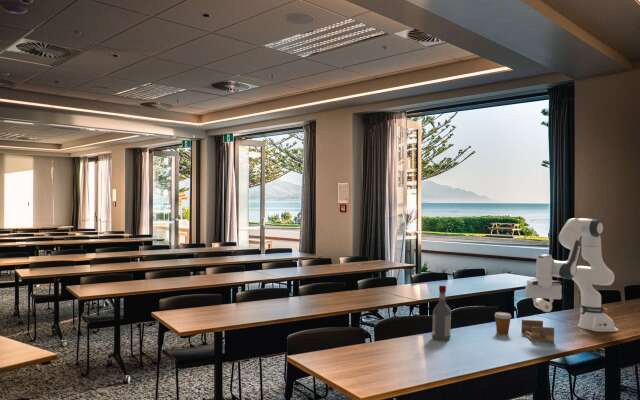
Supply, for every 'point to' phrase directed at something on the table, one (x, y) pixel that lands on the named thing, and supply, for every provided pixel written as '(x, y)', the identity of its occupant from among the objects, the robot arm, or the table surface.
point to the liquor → (441, 318)
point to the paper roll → (543, 305)
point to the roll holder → (537, 331)
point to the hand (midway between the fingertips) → (542, 306)
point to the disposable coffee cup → (502, 322)
